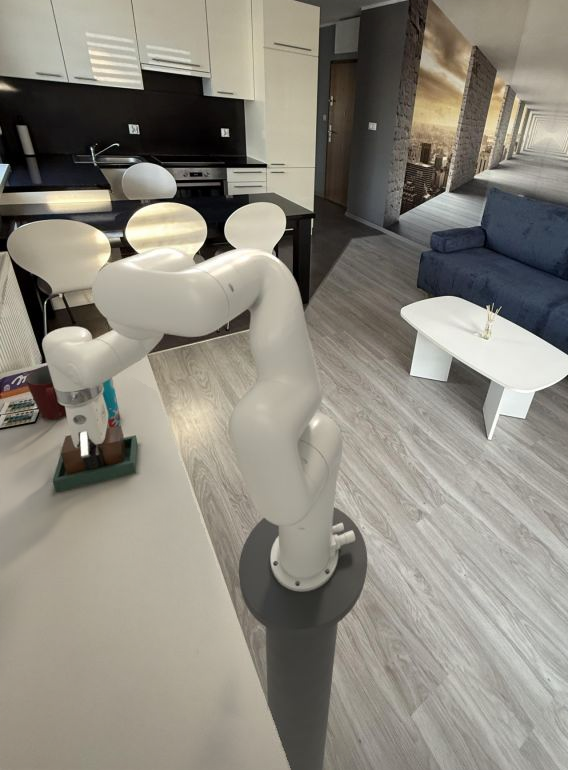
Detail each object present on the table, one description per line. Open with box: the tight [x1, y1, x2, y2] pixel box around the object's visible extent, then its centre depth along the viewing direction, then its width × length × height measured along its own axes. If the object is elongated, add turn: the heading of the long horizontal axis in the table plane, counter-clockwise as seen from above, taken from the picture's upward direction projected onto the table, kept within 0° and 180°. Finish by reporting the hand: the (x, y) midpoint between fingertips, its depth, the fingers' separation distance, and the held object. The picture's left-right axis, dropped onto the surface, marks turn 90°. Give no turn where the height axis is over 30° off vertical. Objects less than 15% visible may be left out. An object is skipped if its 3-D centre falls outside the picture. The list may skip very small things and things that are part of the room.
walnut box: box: [60, 424, 125, 475], centre depth 83 cm, size 10×5×6 cm, turn 114°
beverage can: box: [102, 377, 121, 428], centre depth 94 cm, size 6×6×15 cm
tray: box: [51, 434, 139, 493], centre depth 85 cm, size 14×9×3 cm, turn 114°
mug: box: [25, 364, 67, 421], centre depth 97 cm, size 12×9×11 cm
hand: (97, 457), depth 84 cm, fingers closed on walnut box, 5 cm apart
